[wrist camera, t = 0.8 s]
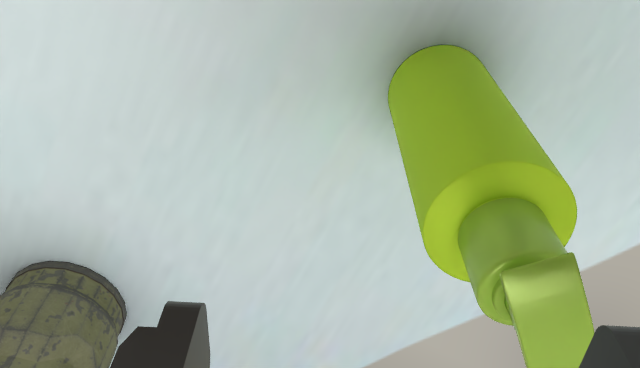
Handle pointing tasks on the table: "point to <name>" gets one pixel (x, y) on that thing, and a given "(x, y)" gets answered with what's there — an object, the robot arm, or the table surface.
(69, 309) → the thermos
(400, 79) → the soap dispenser
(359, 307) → the table surface
